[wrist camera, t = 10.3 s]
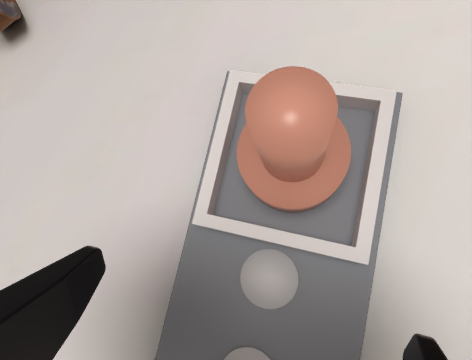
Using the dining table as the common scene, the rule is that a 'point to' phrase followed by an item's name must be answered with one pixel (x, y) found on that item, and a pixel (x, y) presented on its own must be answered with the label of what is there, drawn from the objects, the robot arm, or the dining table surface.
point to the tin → (8, 13)
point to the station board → (281, 247)
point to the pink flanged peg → (293, 140)
